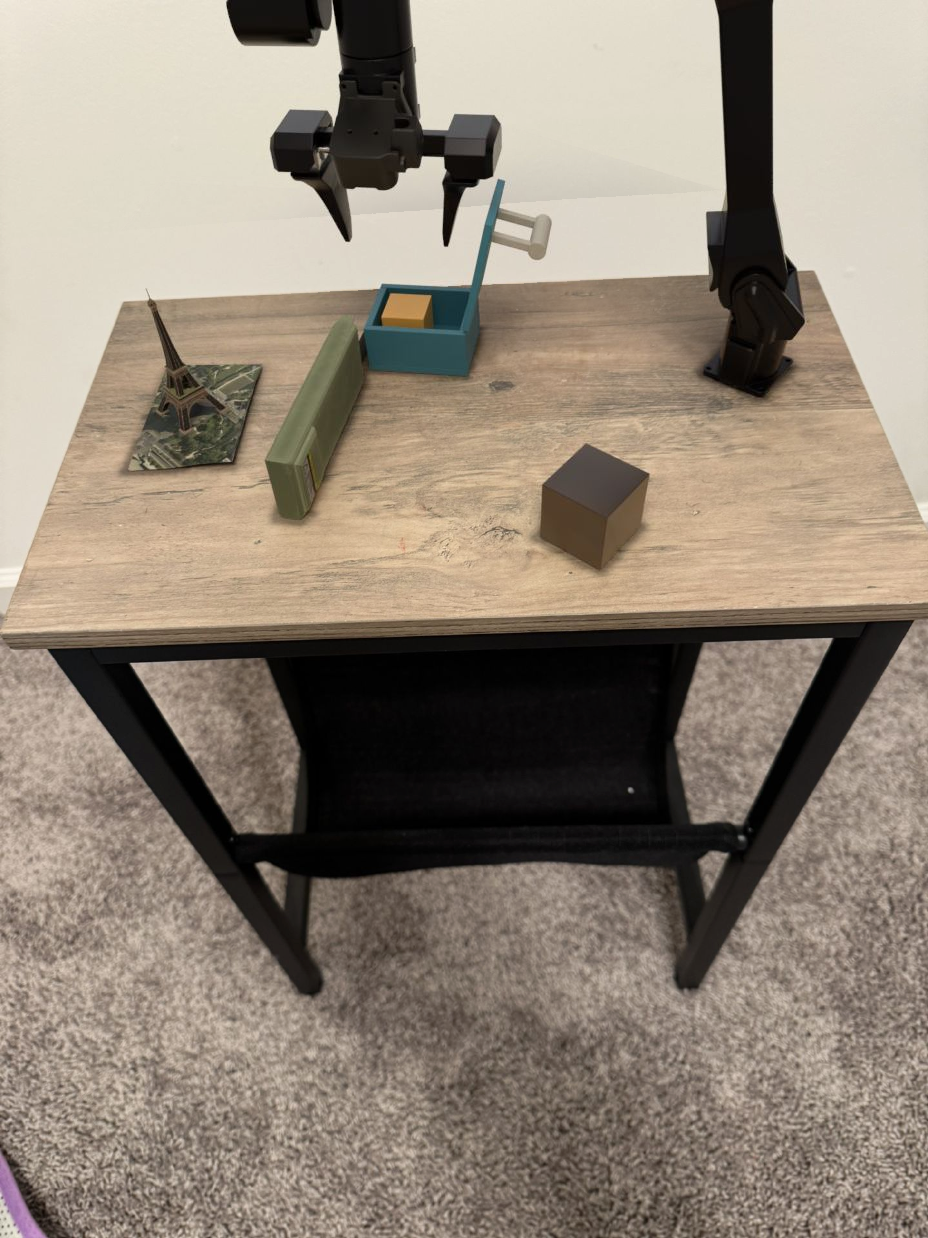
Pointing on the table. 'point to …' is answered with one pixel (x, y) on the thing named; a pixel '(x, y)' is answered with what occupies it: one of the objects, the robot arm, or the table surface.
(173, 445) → the eiffel tower figurine
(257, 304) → the table surface
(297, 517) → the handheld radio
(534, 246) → the teal lid with handle
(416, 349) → the teal open box
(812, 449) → the table surface
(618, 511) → the stand
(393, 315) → the block
